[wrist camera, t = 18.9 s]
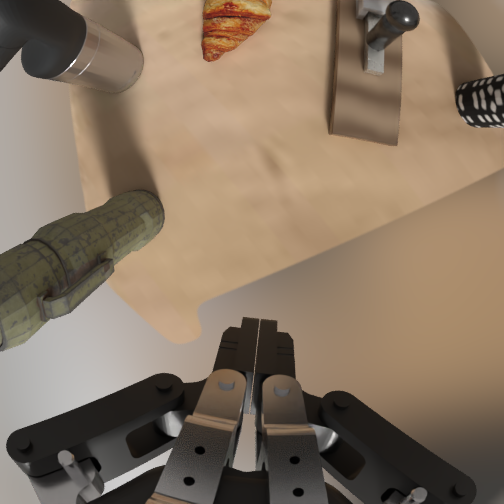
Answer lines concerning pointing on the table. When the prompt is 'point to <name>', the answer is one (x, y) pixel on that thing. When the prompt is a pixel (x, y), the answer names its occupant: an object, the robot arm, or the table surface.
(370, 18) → the bolt
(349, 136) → the door board
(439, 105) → the table surface
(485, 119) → the spotted tube
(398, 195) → the table surface
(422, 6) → the table surface
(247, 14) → the croissant
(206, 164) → the table surface
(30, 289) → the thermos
